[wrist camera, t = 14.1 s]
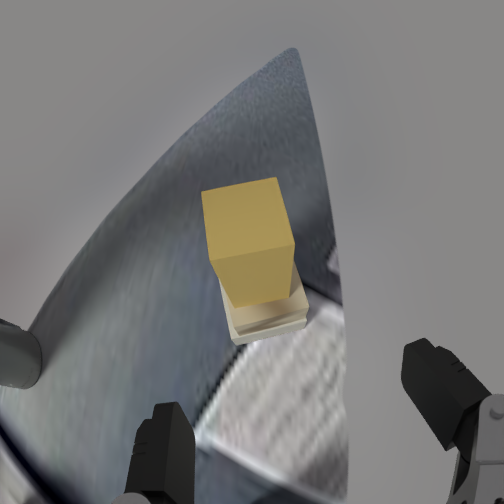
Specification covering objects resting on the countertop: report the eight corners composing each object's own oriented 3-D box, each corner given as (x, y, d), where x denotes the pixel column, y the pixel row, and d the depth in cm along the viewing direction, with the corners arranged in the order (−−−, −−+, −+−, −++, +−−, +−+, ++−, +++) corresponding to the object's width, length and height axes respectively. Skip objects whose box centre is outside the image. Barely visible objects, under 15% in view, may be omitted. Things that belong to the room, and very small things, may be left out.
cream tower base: (236, 345, 35) (231, 339, 31) (223, 283, 39) (216, 269, 35) (303, 329, 35) (307, 320, 31) (286, 268, 39) (287, 252, 35)
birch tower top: (239, 336, 31) (233, 327, 27) (224, 275, 34) (217, 258, 30) (305, 318, 31) (309, 306, 27) (285, 258, 34) (287, 240, 30)
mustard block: (234, 308, 28) (209, 260, 18) (226, 258, 30) (201, 191, 20) (288, 297, 28) (294, 244, 18) (277, 248, 30) (276, 177, 20)
